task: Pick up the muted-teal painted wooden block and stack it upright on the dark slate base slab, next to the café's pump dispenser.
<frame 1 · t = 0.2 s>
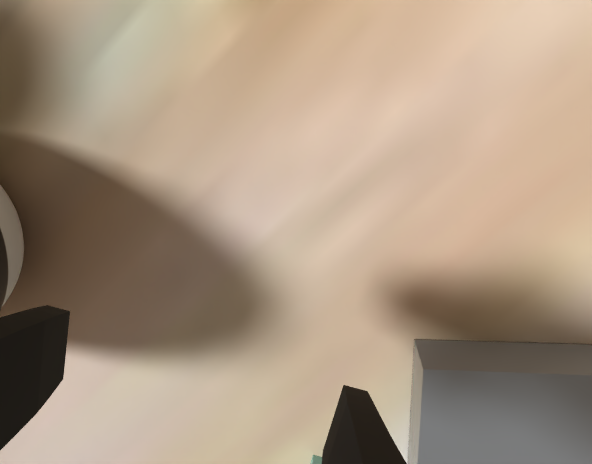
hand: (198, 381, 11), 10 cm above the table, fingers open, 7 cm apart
slate base: (532, 451, 22), on the table
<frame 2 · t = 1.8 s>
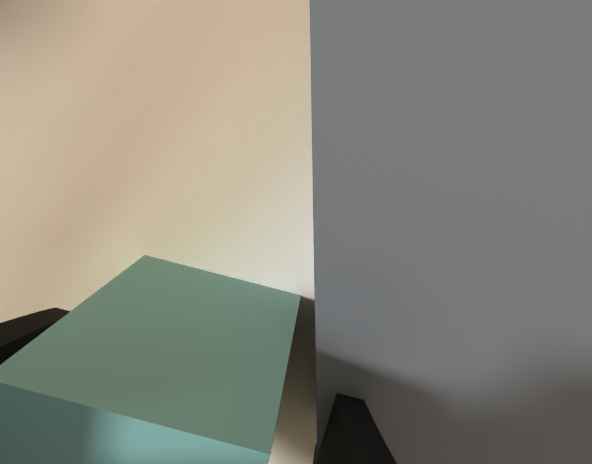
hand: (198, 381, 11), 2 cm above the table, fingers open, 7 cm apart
slate base: (558, 220, 11), on the table
teal block: (208, 344, 13), on the table
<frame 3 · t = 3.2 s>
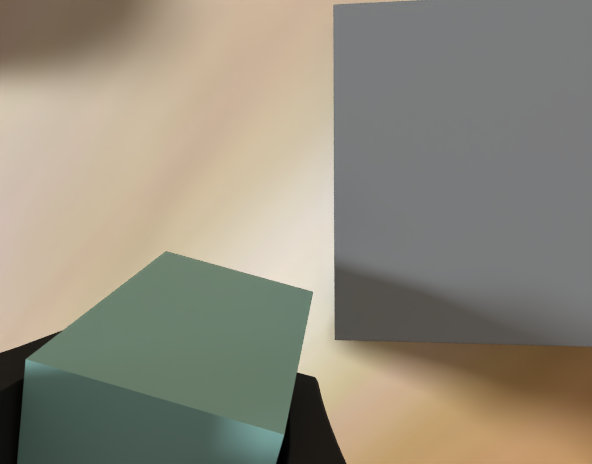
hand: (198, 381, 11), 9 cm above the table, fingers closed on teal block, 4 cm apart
slate base: (487, 176, 18), on the table
teal block: (224, 337, 14), point 6 cm above the table, touching gripper
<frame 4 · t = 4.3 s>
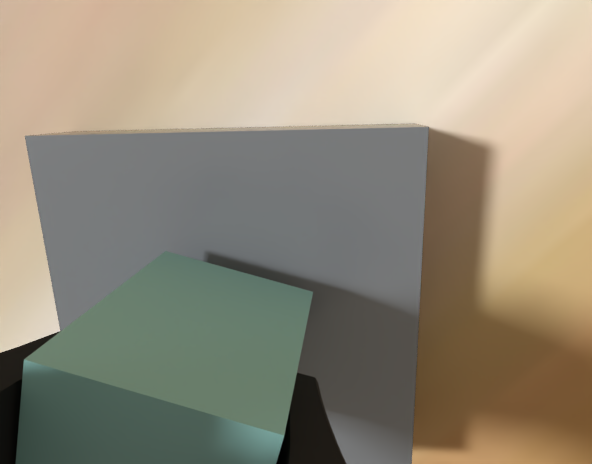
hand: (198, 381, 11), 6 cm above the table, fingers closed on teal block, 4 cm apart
slate base: (246, 289, 17), on the table
teal block: (223, 337, 14), point 3 cm above the table, touching gripper
when the fingers open (5 cm above the table, at t = 4.9 s): teal block stays where it is, resting on slate base.
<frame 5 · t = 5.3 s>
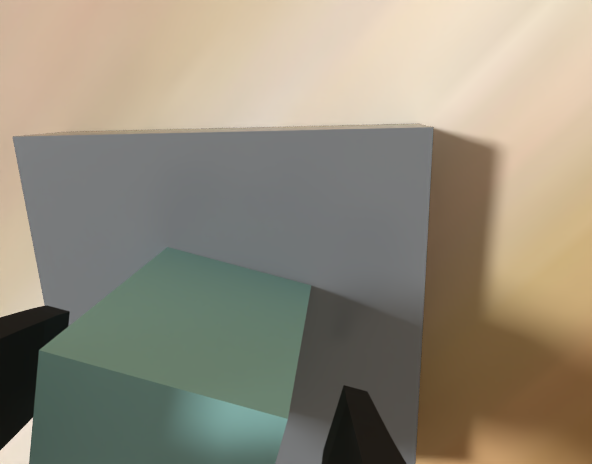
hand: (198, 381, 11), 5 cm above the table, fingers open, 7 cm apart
slate base: (243, 295, 17), on the table
teal block: (224, 330, 14), point 2 cm above the table, touching slate base
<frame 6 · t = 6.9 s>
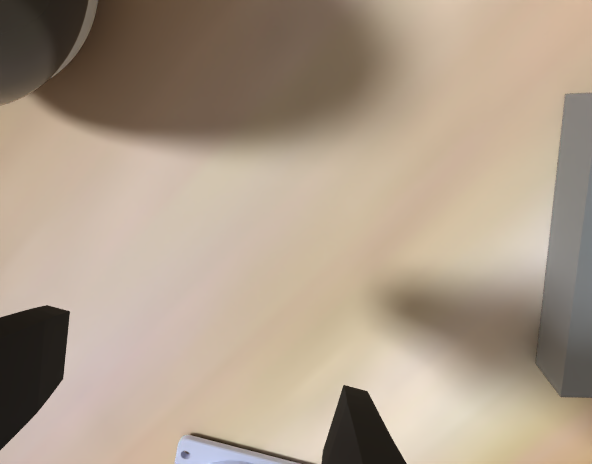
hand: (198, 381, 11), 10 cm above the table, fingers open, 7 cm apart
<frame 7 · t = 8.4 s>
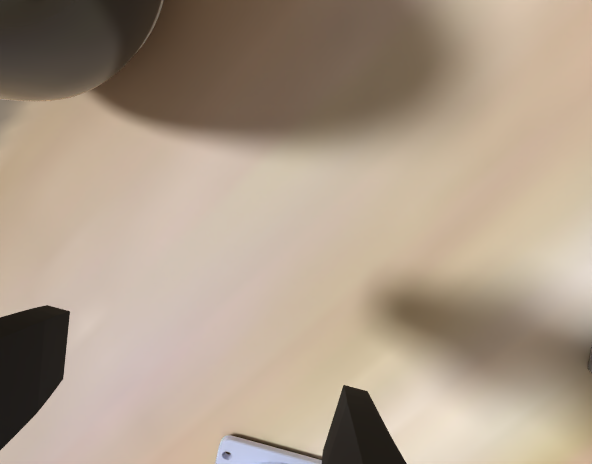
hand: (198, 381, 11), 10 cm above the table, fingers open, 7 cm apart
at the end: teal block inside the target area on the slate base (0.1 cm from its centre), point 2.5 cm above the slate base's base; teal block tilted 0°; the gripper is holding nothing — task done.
